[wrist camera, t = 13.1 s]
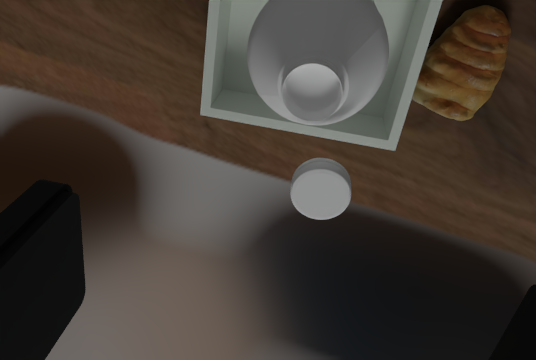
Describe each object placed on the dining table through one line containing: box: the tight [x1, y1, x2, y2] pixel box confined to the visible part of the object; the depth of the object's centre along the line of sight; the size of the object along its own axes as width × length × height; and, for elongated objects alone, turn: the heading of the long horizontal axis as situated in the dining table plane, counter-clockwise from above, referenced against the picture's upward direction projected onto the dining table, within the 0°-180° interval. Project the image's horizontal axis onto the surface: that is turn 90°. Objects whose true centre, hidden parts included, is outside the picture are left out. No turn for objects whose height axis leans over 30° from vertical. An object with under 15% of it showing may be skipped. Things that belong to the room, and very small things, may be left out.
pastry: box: [412, 5, 511, 121], centre depth 39 cm, size 9×7×4 cm
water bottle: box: [247, 0, 389, 220], centre depth 28 cm, size 9×6×25 cm
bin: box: [200, 0, 442, 151], centre depth 37 cm, size 17×19×6 cm
